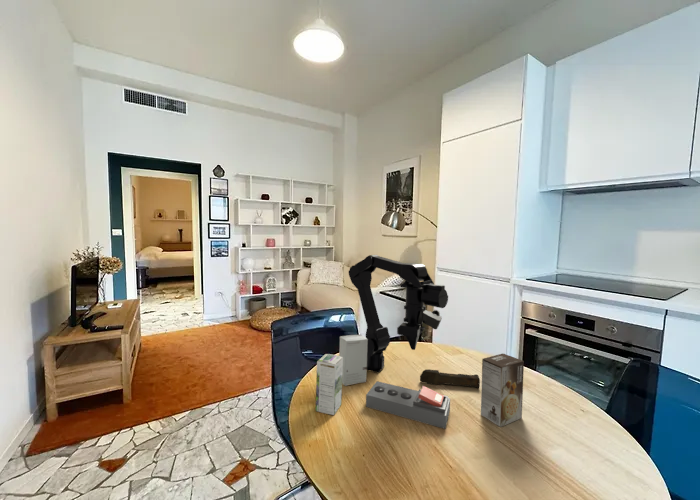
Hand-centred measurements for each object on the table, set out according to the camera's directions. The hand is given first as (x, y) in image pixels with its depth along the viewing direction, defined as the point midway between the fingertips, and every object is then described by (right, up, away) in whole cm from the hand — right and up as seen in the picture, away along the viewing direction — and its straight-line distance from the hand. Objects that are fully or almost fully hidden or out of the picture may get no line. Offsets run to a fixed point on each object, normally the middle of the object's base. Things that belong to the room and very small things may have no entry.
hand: (413, 349), depth 98 cm
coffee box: (+21, -13, -16) cm, 29 cm away
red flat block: (+2, -8, -16) cm, 18 cm away
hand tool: (+12, -13, +1) cm, 18 cm away
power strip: (-4, -13, -13) cm, 19 cm away
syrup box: (-27, -12, -13) cm, 32 cm away
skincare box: (-20, -12, +3) cm, 23 cm away
